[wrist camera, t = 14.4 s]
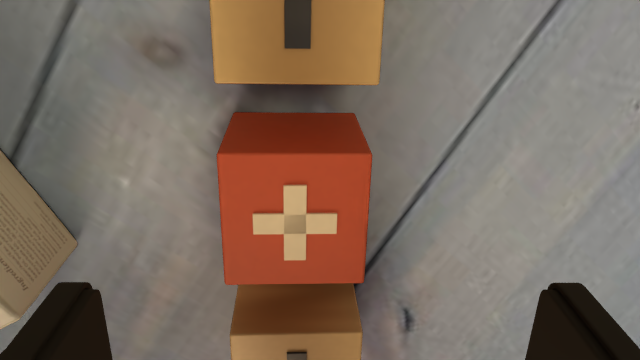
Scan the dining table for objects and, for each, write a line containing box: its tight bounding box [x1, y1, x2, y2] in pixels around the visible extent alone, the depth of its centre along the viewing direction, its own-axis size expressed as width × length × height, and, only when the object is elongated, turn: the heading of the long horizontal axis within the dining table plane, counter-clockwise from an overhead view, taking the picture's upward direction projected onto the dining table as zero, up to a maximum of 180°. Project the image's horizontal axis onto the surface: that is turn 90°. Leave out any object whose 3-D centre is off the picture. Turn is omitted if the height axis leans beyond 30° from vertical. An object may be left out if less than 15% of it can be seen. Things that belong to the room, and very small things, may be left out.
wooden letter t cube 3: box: [230, 283, 363, 360], centre depth 20 cm, size 5×5×5 cm
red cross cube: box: [217, 112, 372, 285], centre depth 18 cm, size 5×5×5 cm
